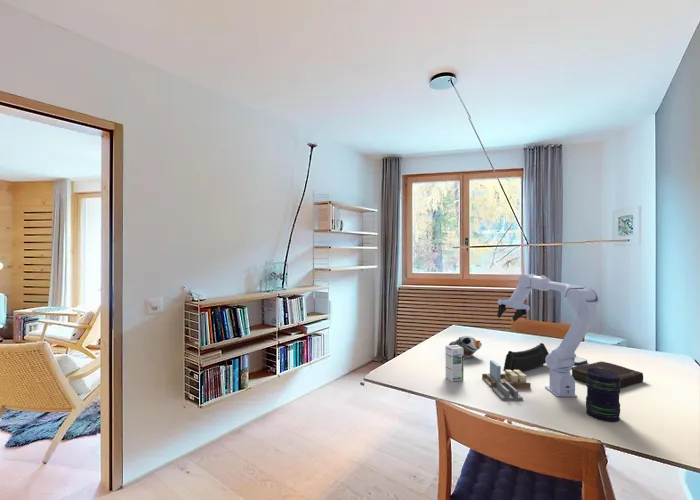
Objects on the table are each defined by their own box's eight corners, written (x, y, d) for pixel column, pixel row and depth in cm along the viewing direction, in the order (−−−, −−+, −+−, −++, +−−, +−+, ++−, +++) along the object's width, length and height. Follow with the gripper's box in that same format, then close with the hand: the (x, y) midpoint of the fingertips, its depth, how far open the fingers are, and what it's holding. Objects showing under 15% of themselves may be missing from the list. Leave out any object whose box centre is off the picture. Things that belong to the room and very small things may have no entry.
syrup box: (452, 382, 157) (452, 348, 157) (444, 377, 163) (445, 344, 163) (463, 380, 159) (464, 347, 159) (456, 376, 165) (456, 344, 165)
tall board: (500, 385, 152) (500, 366, 152) (497, 385, 152) (497, 366, 152) (492, 378, 160) (493, 360, 160) (489, 378, 160) (489, 360, 160)
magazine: (505, 356, 165) (545, 330, 179) (499, 354, 168) (538, 329, 182) (512, 390, 167) (550, 362, 181) (506, 388, 170) (544, 360, 184)
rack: (530, 388, 150) (530, 383, 150) (491, 388, 151) (491, 382, 151) (518, 379, 161) (518, 373, 161) (482, 378, 162) (482, 373, 162)
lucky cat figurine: (469, 351, 203) (480, 332, 198) (475, 366, 192) (488, 346, 187) (444, 344, 202) (455, 324, 196) (449, 359, 191) (461, 338, 185)
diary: (643, 383, 159) (644, 372, 159) (611, 394, 148) (612, 381, 148) (598, 370, 176) (599, 359, 176) (566, 378, 164) (566, 367, 164)
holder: (523, 400, 139) (523, 391, 139) (501, 400, 139) (502, 391, 139) (511, 390, 149) (511, 381, 149) (491, 389, 149) (491, 381, 149)
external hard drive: (532, 354, 200) (532, 351, 200) (545, 351, 206) (545, 348, 206) (577, 367, 180) (577, 363, 180) (589, 363, 185) (590, 359, 185)
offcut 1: (517, 385, 152) (518, 375, 152) (512, 384, 152) (512, 375, 152) (510, 378, 159) (510, 369, 159) (505, 378, 160) (505, 369, 159)
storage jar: (594, 421, 123) (594, 377, 123) (580, 408, 133) (580, 367, 132) (626, 423, 121) (627, 378, 121) (610, 410, 131) (611, 369, 131)
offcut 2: (526, 385, 152) (526, 375, 152) (520, 385, 152) (520, 375, 152) (518, 379, 159) (518, 369, 159) (513, 378, 159) (513, 369, 159)
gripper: (530, 294, 171) (517, 315, 178) (501, 287, 170) (489, 309, 177) (536, 304, 165) (522, 325, 172) (505, 297, 164) (493, 319, 171)
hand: (505, 318), depth 174 cm, fingers open, 7 cm apart
